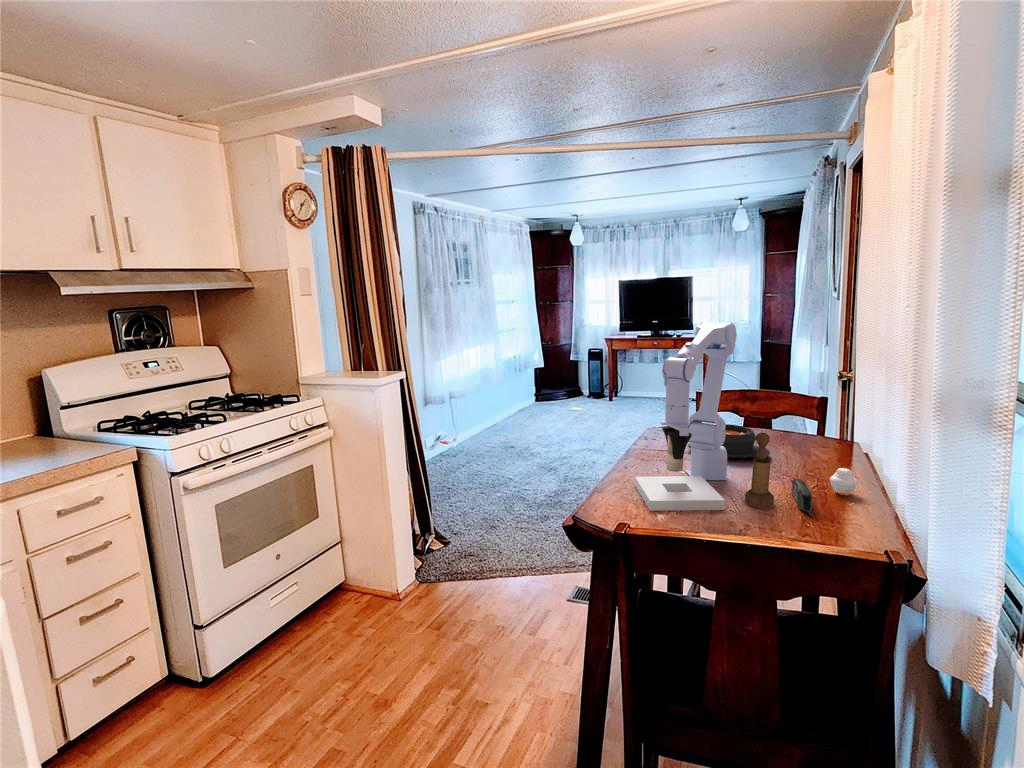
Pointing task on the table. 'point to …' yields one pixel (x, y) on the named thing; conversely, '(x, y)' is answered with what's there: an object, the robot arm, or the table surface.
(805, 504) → the dark grey oblong block
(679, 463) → the peg
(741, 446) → the casserole
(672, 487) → the socket
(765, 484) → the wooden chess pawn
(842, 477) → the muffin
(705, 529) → the table surface
